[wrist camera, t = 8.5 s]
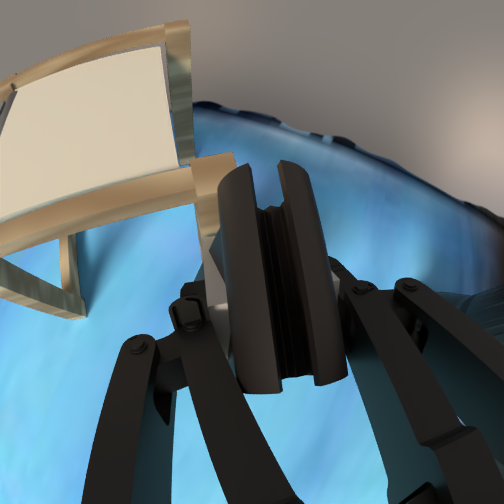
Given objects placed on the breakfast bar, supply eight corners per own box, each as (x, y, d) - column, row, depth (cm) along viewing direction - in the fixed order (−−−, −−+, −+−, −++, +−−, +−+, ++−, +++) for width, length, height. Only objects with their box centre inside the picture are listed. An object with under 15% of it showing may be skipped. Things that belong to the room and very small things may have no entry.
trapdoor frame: (226, 285, 30) (243, 187, 12) (72, 320, 26) (-55, 275, 8) (193, 150, 35) (187, 19, 17) (66, 184, 31) (0, 81, 13)
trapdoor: (181, 194, 16) (178, 164, 13) (-30, 253, 12) (-54, 237, 9) (161, 69, 19) (160, 43, 17) (0, 120, 15) (-11, 100, 13)
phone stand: (327, 265, 19) (403, 155, 8) (342, 353, 17) (458, 346, 6) (195, 281, 19) (114, 184, 8) (203, 371, 17) (111, 399, 6)
